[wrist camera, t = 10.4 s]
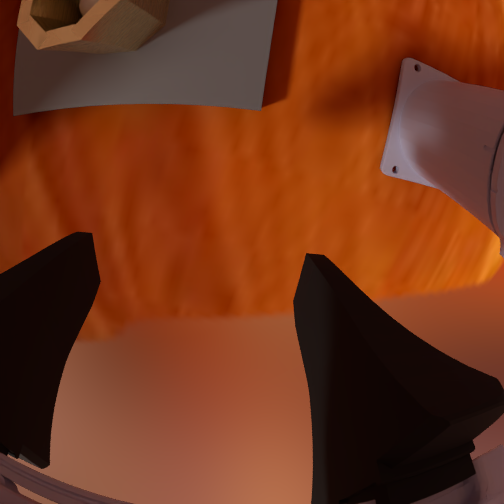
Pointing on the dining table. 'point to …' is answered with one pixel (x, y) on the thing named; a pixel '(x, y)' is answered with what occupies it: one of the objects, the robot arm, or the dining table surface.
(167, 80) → the pin board
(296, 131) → the dining table surface
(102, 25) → the wooden collar
